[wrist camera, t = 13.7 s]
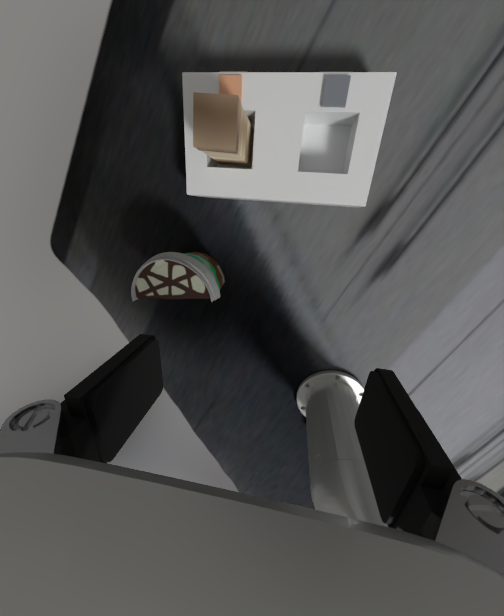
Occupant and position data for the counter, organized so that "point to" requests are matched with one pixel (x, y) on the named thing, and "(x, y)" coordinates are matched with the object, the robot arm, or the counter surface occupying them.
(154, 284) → the food container
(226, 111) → the plug
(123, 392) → the robot arm
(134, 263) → the counter surface
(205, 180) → the socket block
